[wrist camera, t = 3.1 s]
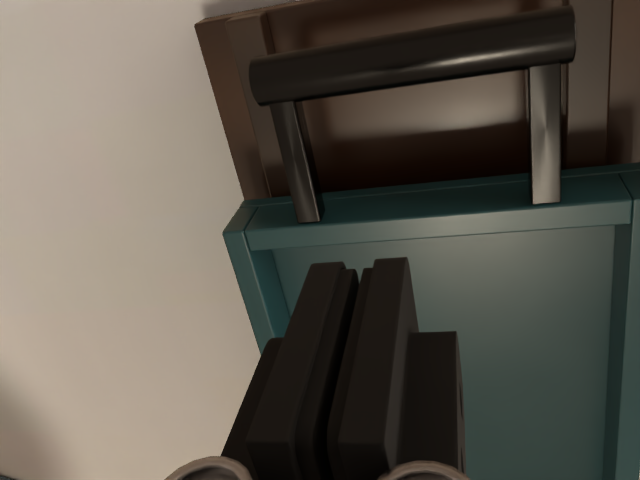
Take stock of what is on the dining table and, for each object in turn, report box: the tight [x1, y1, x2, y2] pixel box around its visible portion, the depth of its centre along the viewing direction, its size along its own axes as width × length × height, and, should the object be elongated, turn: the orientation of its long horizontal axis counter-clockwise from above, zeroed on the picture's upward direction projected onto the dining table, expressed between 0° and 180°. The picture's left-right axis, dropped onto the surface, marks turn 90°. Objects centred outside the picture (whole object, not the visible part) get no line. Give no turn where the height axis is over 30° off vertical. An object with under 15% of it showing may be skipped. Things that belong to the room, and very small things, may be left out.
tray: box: [223, 4, 640, 480], centre depth 21 cm, size 23×13×3 cm, turn 11°
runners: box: [195, 0, 640, 200], centre depth 24 cm, size 26×14×2 cm, turn 11°
